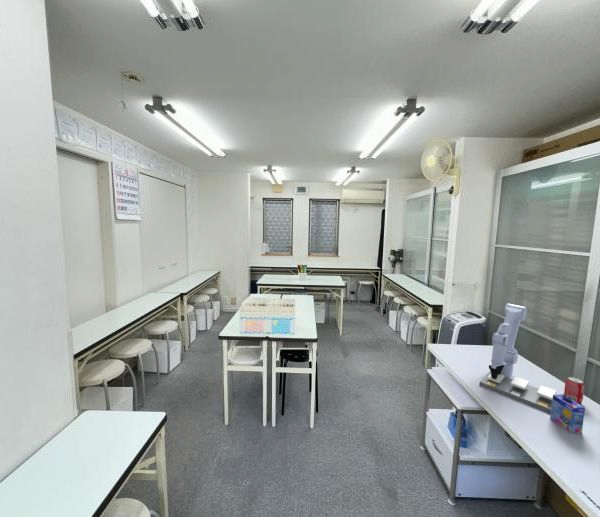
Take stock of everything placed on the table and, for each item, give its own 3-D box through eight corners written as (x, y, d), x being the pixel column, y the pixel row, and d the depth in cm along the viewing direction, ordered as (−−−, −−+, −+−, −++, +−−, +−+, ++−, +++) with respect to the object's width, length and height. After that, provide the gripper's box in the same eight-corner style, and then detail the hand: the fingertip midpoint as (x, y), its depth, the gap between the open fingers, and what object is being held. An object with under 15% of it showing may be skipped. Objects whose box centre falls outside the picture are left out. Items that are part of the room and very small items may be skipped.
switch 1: (492, 373, 164) (492, 371, 163) (504, 377, 159) (504, 375, 159) (487, 378, 157) (487, 376, 157) (499, 383, 153) (499, 381, 152)
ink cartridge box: (548, 418, 129) (552, 389, 128) (559, 417, 130) (563, 389, 128) (571, 433, 120) (575, 403, 118) (582, 433, 120) (587, 402, 118)
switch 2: (515, 378, 155) (515, 376, 155) (528, 383, 150) (529, 381, 150) (510, 384, 149) (511, 382, 148) (524, 389, 144) (524, 387, 144)
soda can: (576, 398, 145) (579, 377, 143) (585, 407, 138) (588, 384, 137) (560, 395, 147) (563, 374, 146) (567, 403, 140) (571, 381, 139)
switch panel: (489, 374, 167) (490, 370, 167) (560, 400, 143) (561, 396, 143) (479, 384, 156) (480, 380, 156) (555, 415, 132) (555, 410, 131)
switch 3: (540, 387, 147) (541, 385, 147) (555, 392, 142) (556, 390, 142) (536, 394, 140) (537, 392, 140) (552, 400, 136) (552, 398, 136)
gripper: (503, 360, 149) (500, 383, 150) (510, 353, 158) (507, 375, 160) (488, 355, 154) (485, 378, 156) (495, 348, 163) (493, 370, 165)
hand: (495, 376), depth 158 cm, fingers open, 7 cm apart
